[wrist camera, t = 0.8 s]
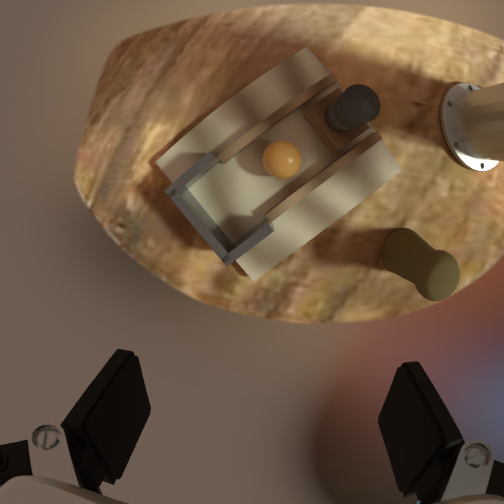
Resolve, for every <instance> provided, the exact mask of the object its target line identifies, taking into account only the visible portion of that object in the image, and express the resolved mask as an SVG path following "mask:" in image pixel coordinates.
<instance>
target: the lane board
mask: <svg viewBox="0 0 504 504" xmlns="http://www.w3.org/2000/svg"><path fill="white" fill-rule="evenodd" d="M337 88H340V89H341V90H342V92H344V91H345V89H344V88H343V87H342V86H341V85H340V83H339V82H338V81H337V79H336V78H335V76H334V75H333V74H332V73H330V72H329V71H328V69H327V68H326V67H325V66H324V65H323V64H322V63H321V62H320V61H319V59H318V58H317V57H316V56H315V55H314V54H313V53H312V52H311V51H310V50H309V49H308V48H307V47H305V48H303V49H302V50H300V51H298V52H297V53H295V54H294V55H292V56H290V57H289V58H287V59H286V60H284V61H283V62H281V63H280V64H278V65H276V66H275V67H273V68H272V69H271V70H269V71H268V72H266V73H265V74H263V75H262V76H260V77H259V78H257V79H256V80H255V81H253V82H252V83H250V84H249V85H248V86H246V87H245V88H243V89H242V90H241V91H239V92H238V93H237V94H235V95H234V96H233V97H231V98H230V99H229V100H227V101H226V102H225V103H224V104H222V105H221V106H220V107H218V108H217V109H216V110H215V111H213V112H212V113H211V114H210V115H208V116H207V117H206V118H205V119H204V120H202V121H201V122H200V123H199V124H198V125H196V126H195V127H194V128H193V129H192V130H190V131H189V132H188V133H187V134H186V135H185V136H184V137H182V138H181V139H180V140H179V141H178V142H177V143H176V144H174V145H173V146H172V147H171V148H170V149H169V150H168V151H167V152H166V153H165V154H163V155H162V156H161V157H160V158H159V159H158V160H157V161H156V162H155V163H156V164H157V165H158V166H159V168H160V169H161V170H162V171H163V172H164V174H165V175H166V176H167V177H168V179H169V180H170V181H171V182H172V183H174V182H175V181H176V180H177V179H178V178H179V177H180V176H181V175H183V174H184V173H185V172H186V171H187V170H188V169H189V168H191V167H192V166H193V165H194V164H195V163H196V162H197V161H199V160H200V159H201V158H202V157H203V156H205V155H206V154H207V153H208V152H209V151H210V152H214V153H217V155H218V156H217V157H218V158H219V159H220V160H221V162H219V163H218V164H217V165H216V166H215V167H213V168H212V169H211V170H210V171H209V172H207V173H206V174H205V175H204V176H203V177H202V178H200V179H199V180H198V181H197V182H196V183H195V184H193V185H192V186H191V187H190V188H189V189H188V190H189V191H190V192H191V193H192V195H193V196H194V197H195V198H196V199H197V201H198V202H199V203H200V204H201V206H202V207H203V208H204V209H205V210H206V212H207V213H208V214H209V215H210V217H211V218H212V219H213V220H214V221H215V223H216V224H217V225H218V226H219V227H220V229H221V230H222V231H223V232H224V234H225V235H226V236H227V237H228V238H229V240H230V241H231V242H232V243H234V242H236V241H237V240H238V239H240V238H241V237H242V236H243V235H245V234H246V233H247V232H249V231H250V230H251V229H253V228H254V227H255V226H256V225H258V224H259V223H260V222H262V221H263V220H264V219H266V218H268V220H269V221H270V222H272V223H273V224H274V232H272V233H271V234H270V235H268V236H267V237H266V238H265V239H263V240H262V241H261V242H259V243H258V244H257V245H255V246H254V247H253V248H251V249H250V250H249V251H247V252H246V253H245V254H243V255H242V256H241V257H239V258H238V259H237V260H236V261H237V263H238V264H239V265H240V266H241V267H242V269H243V270H244V271H245V272H246V273H247V274H248V276H249V277H250V278H251V279H252V280H253V282H254V281H255V280H256V279H258V278H259V277H260V276H262V275H263V274H265V273H266V272H267V271H269V270H270V269H271V268H273V267H274V266H276V265H277V264H278V263H280V262H281V261H282V260H284V259H285V258H287V257H288V256H289V255H291V254H292V253H293V252H295V251H296V250H297V249H299V248H300V247H301V246H303V245H304V244H305V243H307V242H308V241H310V240H311V239H312V238H314V237H315V236H316V235H318V234H319V233H320V232H322V231H323V230H324V229H326V228H327V227H328V226H330V225H331V224H332V223H334V222H335V221H336V220H338V219H339V218H340V217H341V216H343V215H344V214H345V213H347V212H348V211H349V210H351V209H352V208H353V207H355V206H356V205H357V204H359V203H360V202H361V201H362V200H364V199H365V198H366V197H368V196H369V195H370V194H372V193H373V192H374V191H375V190H377V189H378V188H379V187H381V186H382V185H383V184H384V183H386V182H387V181H388V180H390V179H391V178H392V177H393V176H395V175H396V174H397V173H399V172H400V171H401V168H400V167H399V165H398V163H397V162H396V160H395V159H394V157H393V156H392V154H391V152H390V151H389V149H388V148H387V146H386V145H385V143H384V142H383V140H382V138H381V136H380V135H379V133H378V132H376V130H375V129H374V127H373V126H372V125H371V123H370V122H367V124H368V125H369V127H370V128H369V129H368V130H366V131H365V132H364V133H362V134H361V135H359V136H358V137H357V138H355V139H354V140H353V141H351V142H350V143H348V144H347V145H346V146H344V147H343V148H342V149H340V150H336V151H333V152H331V151H330V149H329V148H328V147H327V145H326V144H325V143H324V141H323V140H322V139H321V137H320V136H319V135H318V134H317V132H316V131H315V130H314V128H313V127H312V126H311V125H310V123H309V122H308V121H307V120H306V119H305V117H304V116H303V115H304V114H305V112H306V111H307V109H308V108H309V107H311V106H312V105H314V104H315V103H316V102H318V101H319V100H321V99H322V98H324V97H325V96H327V95H328V94H330V93H331V92H333V91H334V90H336V89H337ZM279 140H285V141H289V142H291V143H293V144H294V145H295V146H297V148H298V149H299V150H300V152H301V156H302V164H301V167H300V169H299V171H298V172H297V173H296V174H295V175H294V176H292V177H290V178H287V179H278V178H275V177H273V176H271V175H270V174H269V173H268V172H267V171H266V170H265V168H264V165H263V153H264V151H265V149H266V148H267V147H268V146H269V145H270V144H271V143H273V142H275V141H279Z"/></svg>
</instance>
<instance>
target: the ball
mask: <svg viewBox="0 0 504 504" xmlns="http://www.w3.org/2000/svg"><path fill="white" fill-rule="evenodd" d="M301 164H302V156H301V152H300V150H299V149H298V148H297V146H295V145H294V144H293V143H291V142H289V141H285V140H279V141H275V142H273V143H271V144H270V145H269V146H268V147H267V148H266V149H265V151H264V153H263V165H264V168H265V170H266V171H267V172H268V173H269V174H270V175H271V176H273V177H275V178H278V179H287V178H290V177H292V176H294V175H295V174H296V173H297V172H298V171H299V169H300V167H301Z"/></svg>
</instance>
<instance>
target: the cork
mask: <svg viewBox="0 0 504 504" xmlns="http://www.w3.org/2000/svg"><path fill="white" fill-rule="evenodd" d="M381 256H382V261H383V263H384V265H385V267H386V268H387V269H388V270H389V271H391V272H393V273H395V274H397V275H399V276H401V277H403V278H405V279H406V280H408V281H410V282H412V283H414V284H415V285H416V288H417V290H418V292H419V293H420V294H421V295H422V296H423V297H424V298H426V299H428V300H431V301H440V300H443V299H446V298H447V297H449V296H450V295H451V294H452V293H453V292H454V290H455V289H456V287H457V285H458V282H459V277H460V271H459V266H458V263H457V261H456V260H455V259H454V257H453V256H452V255H451V254H449V253H447V252H445V251H442V250H435V249H433V248H432V247H431V246H430V245H429V244H428V243H427V242H426V241H424V240H423V239H422V238H421V237H420V236H419V235H418V234H416V233H415V232H414V231H412V230H410V229H408V228H400V229H396V230H394V231H393V232H392V233H390V234H389V235H388V237H387V238H386V239H385V241H384V243H383V246H382V251H381Z"/></svg>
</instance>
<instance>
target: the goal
mask: <svg viewBox="0 0 504 504" xmlns="http://www.w3.org/2000/svg"><path fill="white" fill-rule="evenodd" d="M217 156H218V155H217V153H214V152H210V151H209V152H208V153H207V154H206V155H205V156H203V157H202V158H201V159H200V160H199V161H197V162H196V163H195V164H194V165H193V166H192V167H191V168H189V169H188V170H187V171H186V172H185V173H184V174H183V175H181V176H180V177H179V178H178V179H177V180H176V181H175V182H174V183H172V184H171V185H170V186H169V187H168V188H167V189H166V190H165V192H166V193H167V195H168V196H169V197H170V198H171V200H172V201H173V202H174V203H175V205H176V206H177V207H178V208H179V209H180V211H181V212H182V213H183V214H184V216H185V217H186V218H187V219H188V220H189V222H190V223H191V224H192V225H193V227H194V228H195V229H196V230H197V231H198V233H199V234H200V235H201V236H202V237H203V239H204V240H205V241H206V242H207V243H208V245H209V246H210V247H211V248H212V249H213V251H214V252H215V253H216V254H217V255H218V257H219V258H220V259H221V260H222V261H223V262H224V264H225V265H226V266H227V267H228V266H229V265H230V264H232V263H233V262H234V261H235V260H237V259H238V258H239V257H241V256H242V255H243V254H245V253H246V252H247V251H249V250H250V249H251V248H253V247H254V246H255V245H257V244H258V243H259V242H261V241H262V240H263V239H265V238H266V237H267V236H268V235H270V234H271V233H272V232H274V224H273V223H272V222H270V221H269V220H268V218H266V219H264V220H263V221H262V222H260V223H259V224H258V225H256V226H255V227H254V228H253V229H251V230H250V231H249V232H247V233H246V234H245V235H243V236H242V237H241V238H240V239H238V240H237V241H236V242H234V243H232V242H231V241H230V240H229V238H228V237H227V236H226V235H225V234H224V232H223V231H222V230H221V229H220V227H219V226H218V225H217V224H216V223H215V221H214V220H213V219H212V218H211V217H210V215H209V214H208V213H207V212H206V210H205V209H204V208H203V207H202V206H201V204H200V203H199V202H198V201H197V199H196V198H195V197H194V196H193V195H192V193H191V192H190V191H189V190H188V189H189V188H190V187H191V186H192V185H193V184H195V183H196V182H197V181H198V180H199V179H200V178H202V177H203V176H204V175H205V174H206V173H207V172H209V171H210V170H211V169H212V168H213V167H215V166H216V165H217V164H218V163H219V162H221V160H220V159H219V158H218V157H217Z"/></svg>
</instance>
